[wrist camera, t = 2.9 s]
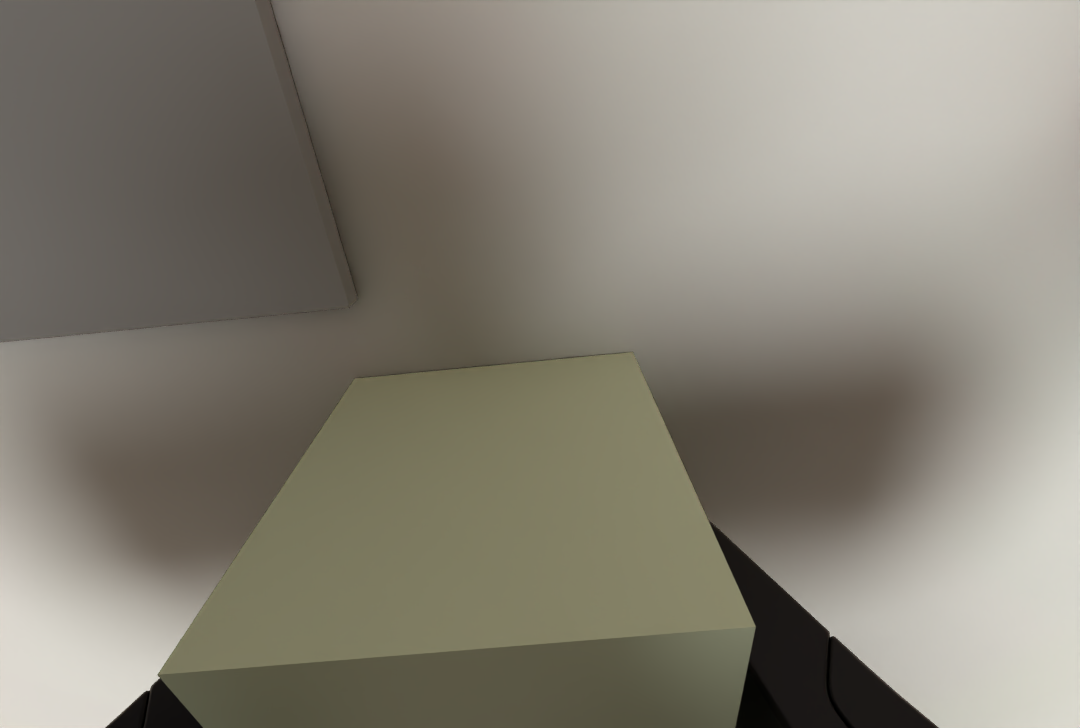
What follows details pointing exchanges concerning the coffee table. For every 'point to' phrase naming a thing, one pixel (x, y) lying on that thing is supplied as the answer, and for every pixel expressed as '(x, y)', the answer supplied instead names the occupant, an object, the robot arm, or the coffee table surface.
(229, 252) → the mat
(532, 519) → the sage cube
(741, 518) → the coffee table surface
